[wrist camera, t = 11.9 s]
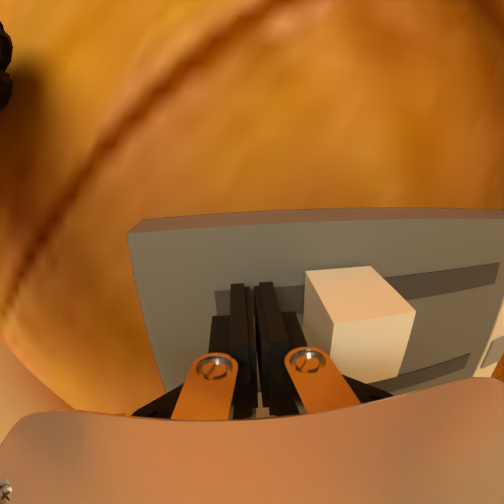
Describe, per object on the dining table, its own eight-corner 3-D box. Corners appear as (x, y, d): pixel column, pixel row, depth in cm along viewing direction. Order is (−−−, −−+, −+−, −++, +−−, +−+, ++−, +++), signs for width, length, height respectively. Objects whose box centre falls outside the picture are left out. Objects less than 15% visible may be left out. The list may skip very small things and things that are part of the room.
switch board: (143, 219, 14) (122, 237, 11) (519, 211, 15) (546, 221, 12) (201, 456, 21) (200, 483, 18) (453, 407, 22) (465, 425, 19)
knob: (305, 270, 12) (334, 323, 8) (370, 265, 12) (416, 311, 8) (302, 330, 13) (324, 391, 9) (362, 322, 13) (396, 376, 9)
